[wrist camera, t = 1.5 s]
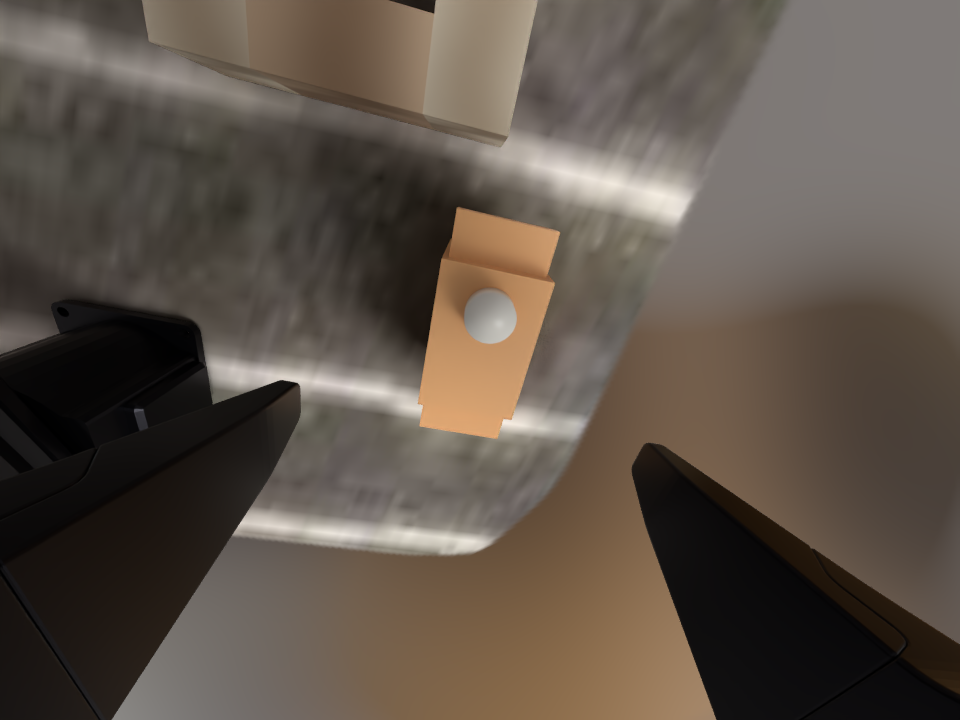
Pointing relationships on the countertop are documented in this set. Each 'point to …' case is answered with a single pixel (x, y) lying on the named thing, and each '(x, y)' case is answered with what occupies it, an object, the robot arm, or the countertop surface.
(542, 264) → the block
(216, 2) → the beige notched square frame
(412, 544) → the countertop surface
